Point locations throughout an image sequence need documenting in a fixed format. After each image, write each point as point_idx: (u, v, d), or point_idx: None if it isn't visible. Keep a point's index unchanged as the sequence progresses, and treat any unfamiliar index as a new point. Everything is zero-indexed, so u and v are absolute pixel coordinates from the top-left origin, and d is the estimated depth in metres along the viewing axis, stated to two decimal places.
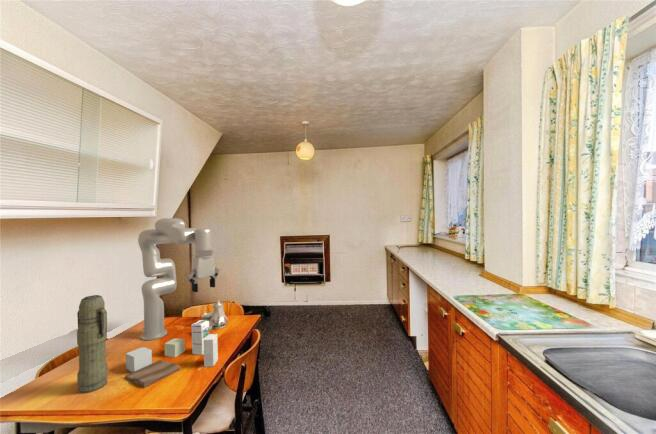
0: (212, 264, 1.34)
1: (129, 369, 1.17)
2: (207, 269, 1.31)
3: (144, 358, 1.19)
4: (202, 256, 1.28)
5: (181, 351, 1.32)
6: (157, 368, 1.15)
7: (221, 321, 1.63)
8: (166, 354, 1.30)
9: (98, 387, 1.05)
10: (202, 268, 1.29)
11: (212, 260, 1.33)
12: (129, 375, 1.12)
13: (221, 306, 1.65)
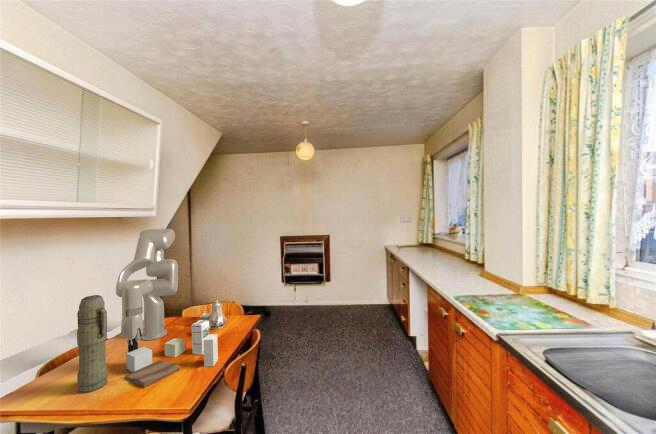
0: None
1: (129, 369, 1.17)
2: None
3: (144, 358, 1.19)
4: (142, 312, 1.24)
5: (181, 351, 1.32)
6: (157, 368, 1.15)
7: (220, 321, 1.62)
8: (166, 354, 1.30)
9: (98, 387, 1.05)
10: None
11: None
12: (129, 375, 1.12)
13: (220, 306, 1.64)
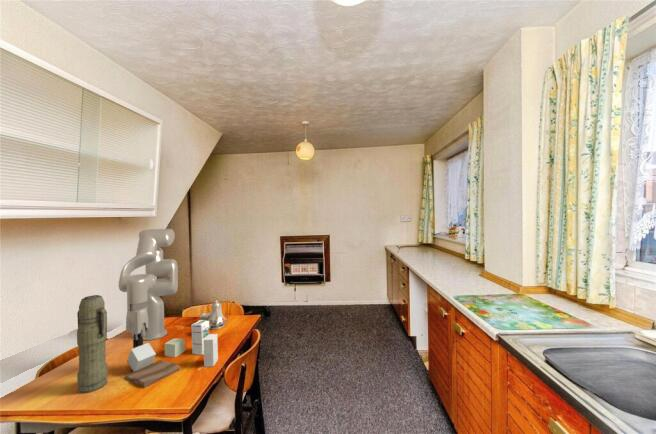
0: None
1: (130, 364, 1.17)
2: None
3: (147, 361, 1.18)
4: (147, 306, 1.22)
5: (181, 351, 1.32)
6: (157, 368, 1.15)
7: (219, 321, 1.62)
8: (166, 354, 1.30)
9: (98, 387, 1.05)
10: None
11: None
12: (129, 375, 1.12)
13: (219, 306, 1.64)
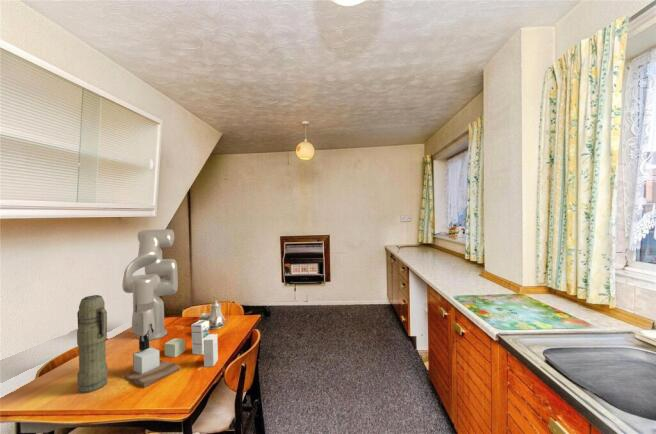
0: None
1: (134, 361, 1.16)
2: None
3: None
4: (153, 307, 1.19)
5: (181, 351, 1.32)
6: (157, 368, 1.15)
7: (219, 322, 1.62)
8: (166, 354, 1.30)
9: (98, 387, 1.05)
10: None
11: None
12: (129, 375, 1.12)
13: (219, 306, 1.64)
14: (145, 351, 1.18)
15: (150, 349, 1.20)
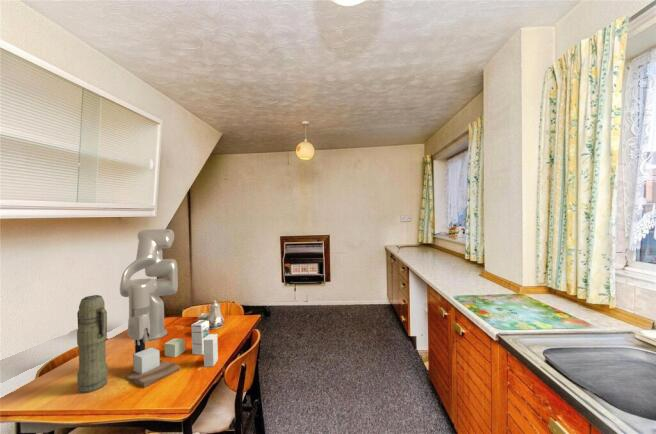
0: None
1: (134, 361, 1.15)
2: None
3: None
4: (149, 312, 1.21)
5: (181, 351, 1.32)
6: (157, 368, 1.15)
7: (218, 322, 1.62)
8: (166, 354, 1.30)
9: (98, 387, 1.05)
10: None
11: None
12: (129, 375, 1.12)
13: (218, 307, 1.64)
14: (145, 351, 1.18)
15: (150, 349, 1.20)
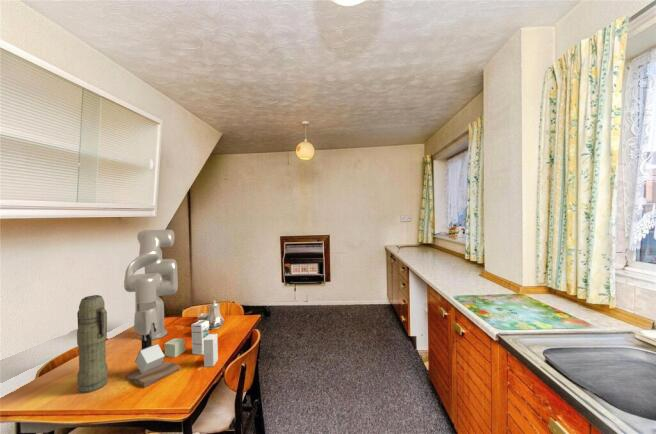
0: None
1: (138, 356, 1.14)
2: None
3: None
4: (156, 306, 1.18)
5: (181, 351, 1.32)
6: (157, 368, 1.15)
7: (217, 322, 1.62)
8: (166, 354, 1.30)
9: (98, 387, 1.05)
10: None
11: None
12: (129, 375, 1.12)
13: (217, 307, 1.64)
14: (151, 351, 1.15)
15: (156, 349, 1.17)
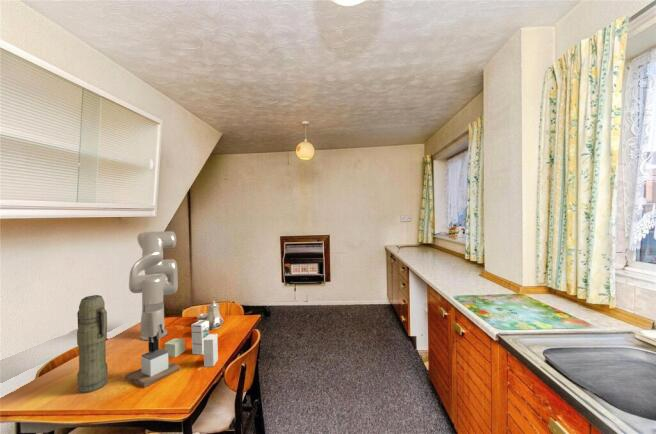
0: None
1: (146, 359, 1.11)
2: None
3: None
4: (163, 307, 1.16)
5: (181, 351, 1.32)
6: None
7: (216, 322, 1.62)
8: None
9: (98, 387, 1.05)
10: None
11: None
12: (129, 375, 1.12)
13: (216, 307, 1.64)
14: (160, 361, 1.12)
15: (165, 358, 1.14)
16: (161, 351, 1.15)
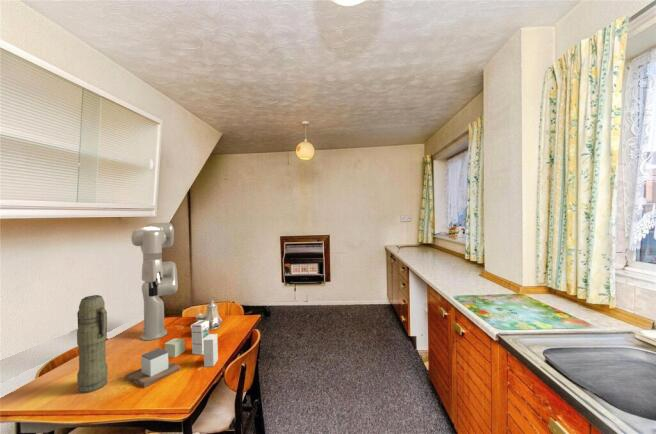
0: None
1: (146, 359, 1.11)
2: None
3: None
4: (161, 258, 1.30)
5: (181, 351, 1.32)
6: None
7: (215, 322, 1.61)
8: None
9: (98, 387, 1.05)
10: None
11: None
12: (129, 375, 1.12)
13: (215, 307, 1.63)
14: (160, 361, 1.12)
15: (165, 358, 1.14)
16: (161, 351, 1.15)
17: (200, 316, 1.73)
